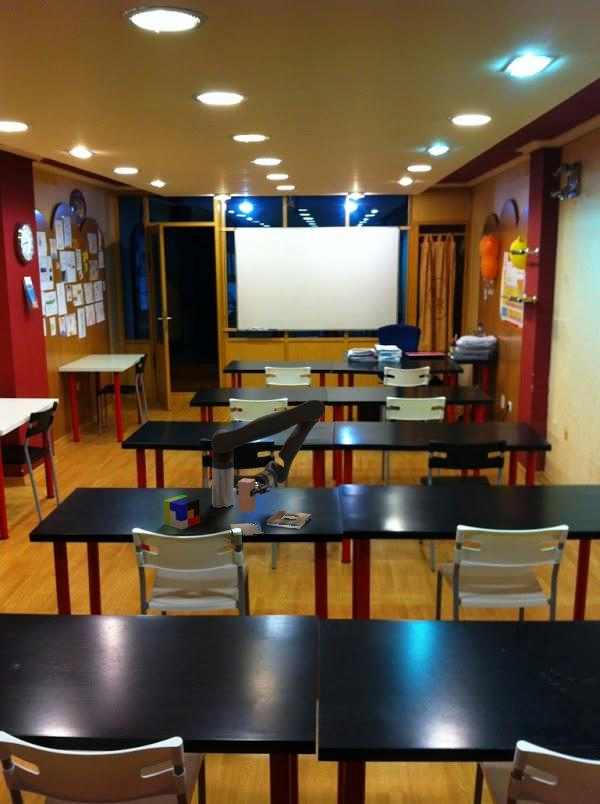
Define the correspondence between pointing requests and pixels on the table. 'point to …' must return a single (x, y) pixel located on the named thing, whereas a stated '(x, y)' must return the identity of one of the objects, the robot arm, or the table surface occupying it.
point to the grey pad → (247, 528)
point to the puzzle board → (277, 520)
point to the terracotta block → (246, 495)
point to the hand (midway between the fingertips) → (244, 493)
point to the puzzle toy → (181, 511)
